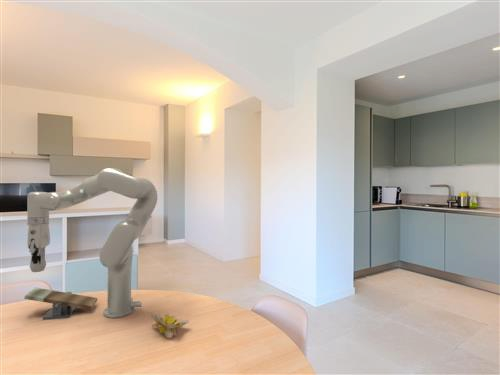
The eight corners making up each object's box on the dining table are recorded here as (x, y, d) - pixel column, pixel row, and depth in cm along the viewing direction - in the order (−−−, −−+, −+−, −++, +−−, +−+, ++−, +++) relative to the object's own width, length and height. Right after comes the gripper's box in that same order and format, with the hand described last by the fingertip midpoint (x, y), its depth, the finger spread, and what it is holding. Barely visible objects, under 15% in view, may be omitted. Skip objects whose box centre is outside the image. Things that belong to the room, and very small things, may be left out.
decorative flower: (195, 328, 113) (189, 304, 111) (170, 346, 105) (163, 321, 104) (175, 317, 123) (169, 295, 122) (150, 333, 116) (143, 310, 114)
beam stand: (80, 303, 137) (80, 290, 137) (69, 318, 123) (69, 303, 123) (56, 305, 135) (56, 292, 134) (42, 320, 121) (42, 305, 121)
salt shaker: (49, 269, 129) (49, 239, 128) (38, 273, 123) (39, 242, 123) (37, 268, 129) (37, 238, 129) (26, 272, 124) (26, 241, 123)
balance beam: (96, 301, 136) (97, 298, 136) (91, 309, 127) (92, 306, 127) (34, 290, 130) (35, 287, 130) (24, 298, 121) (25, 295, 121)
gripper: (39, 223, 118) (39, 269, 119) (56, 218, 134) (55, 258, 135) (18, 224, 117) (18, 270, 117) (37, 218, 133) (37, 259, 133)
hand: (38, 263), depth 126 cm, fingers closed on salt shaker, 3 cm apart
